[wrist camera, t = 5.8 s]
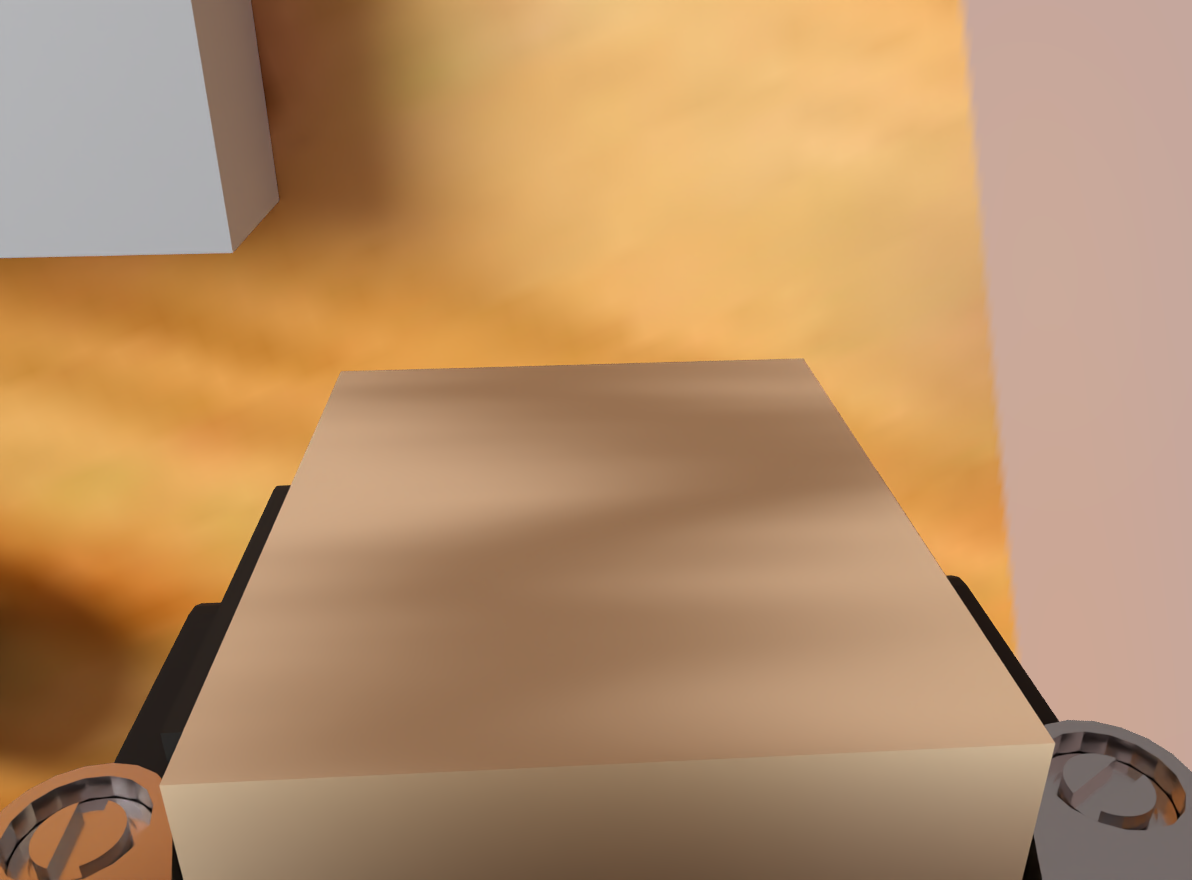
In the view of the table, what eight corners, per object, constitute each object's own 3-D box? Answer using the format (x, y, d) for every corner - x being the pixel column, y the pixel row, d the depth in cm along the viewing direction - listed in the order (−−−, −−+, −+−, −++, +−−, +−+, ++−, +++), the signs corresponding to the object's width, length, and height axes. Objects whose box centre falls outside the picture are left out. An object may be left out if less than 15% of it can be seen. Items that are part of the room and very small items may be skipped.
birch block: (802, 357, 11) (1054, 742, 6) (771, 715, 13) (935, 1236, 8) (341, 370, 11) (159, 786, 6) (386, 733, 13) (285, 1282, 8)
